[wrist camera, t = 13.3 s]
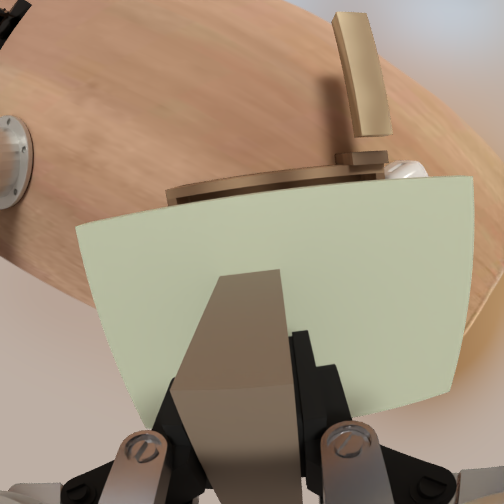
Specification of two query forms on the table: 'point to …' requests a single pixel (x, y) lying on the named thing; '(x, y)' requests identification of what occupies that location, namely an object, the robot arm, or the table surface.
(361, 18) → the tan rectangular block
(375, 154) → the brown wooden open box
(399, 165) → the power adapter
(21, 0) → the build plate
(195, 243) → the lid
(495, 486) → the robot arm
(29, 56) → the table surface
